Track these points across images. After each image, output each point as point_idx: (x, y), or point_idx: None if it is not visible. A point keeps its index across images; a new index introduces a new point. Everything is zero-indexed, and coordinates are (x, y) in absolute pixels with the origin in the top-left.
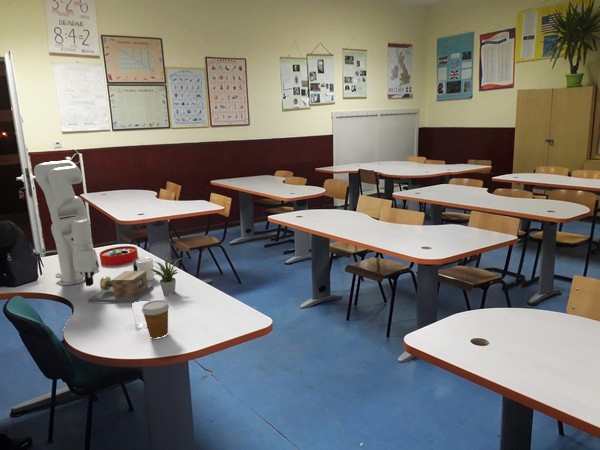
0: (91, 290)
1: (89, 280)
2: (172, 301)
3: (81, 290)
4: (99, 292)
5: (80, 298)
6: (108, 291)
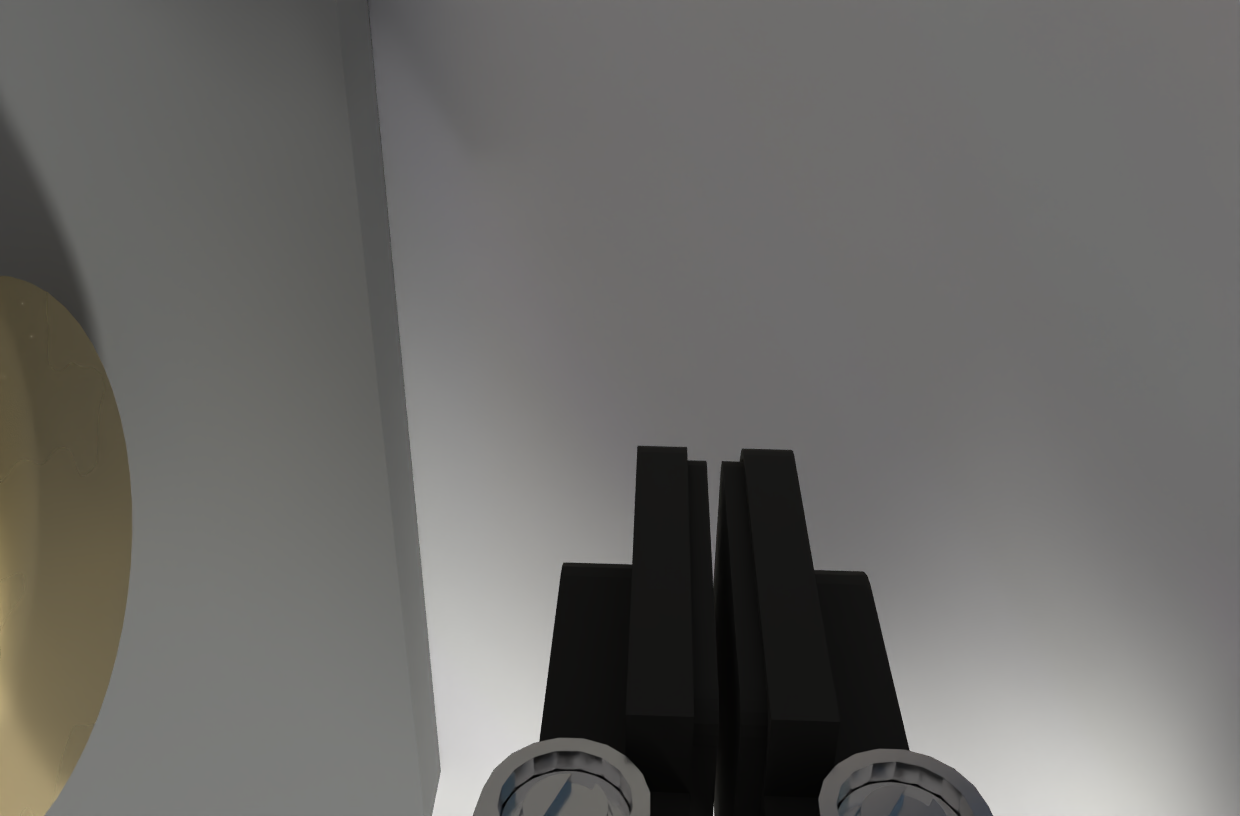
0: None
1: (627, 652)
2: None
3: (1184, 644)
4: (317, 326)
5: (919, 30)
6: None
